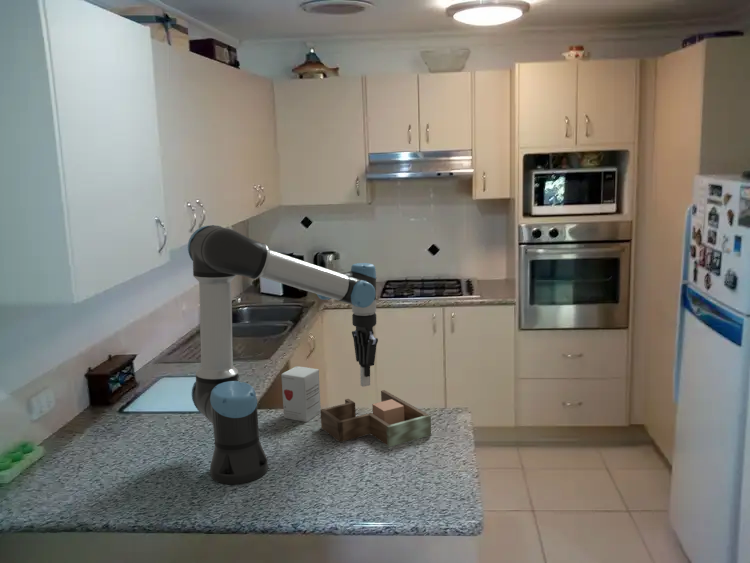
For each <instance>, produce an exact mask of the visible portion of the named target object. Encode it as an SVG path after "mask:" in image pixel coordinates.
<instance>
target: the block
mask: <svg viewBox="0 0 750 563" xmlns="http://www.w3.org/2000/svg"><path fill="white" fill-rule="evenodd" d="M372 414H374V415H375V416H377V417H378V418H380V419H382V420H383V421H385V422H386V423H388V424H389V425H392V424H395V423H399V422H403V421H404V406H403V405H401V404H400V403H398V402H396V401H394V400H392V399H391V400H387V401H383V402H381V401H379V402H376V403H372Z"/></svg>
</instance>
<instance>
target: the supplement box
mask: <svg viewBox="0 0 750 563" xmlns="http://www.w3.org/2000/svg"><path fill="white" fill-rule="evenodd" d="M280 376H281V385H282V386H281V387H282V388H281V389H282V406H283V418H284V419H288V420H293V421H294V420H295V421H297V422H298V421H299V422H304V423H308V422H309V421H311V420H312V419H314V418H315V417H316V416H318V415H319V414H321V411H320V410H321V409H322V408H321V386H320V369H318V368H313V367H306V366H297V365H295V366H294V367H293V368H290V369H289V370H287V371H284V372H283V373H281V375H280Z"/></svg>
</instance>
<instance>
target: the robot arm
mask: <svg viewBox="0 0 750 563" xmlns="http://www.w3.org/2000/svg"><path fill="white" fill-rule="evenodd" d="M187 253H188V255H189V258H190V259H191V261H192V274H193V275H192V276H193V278H194V279H196V280H197V282H198V284H199V285H198V287H199V288H198V291H199V293H198V294H199V325H200V326H199V330H200V335H199V336H200V367H199V368H198V369H197V370H196V372H195V381H194V383H193V385H192V387H191V398H192V399H191V400H192V402H193V405H194V406H195V408H196V409H197V411H198V412H199V413H201V414H202V415H203V416H204V417H205V418H206V419H207V420H208V421H209V422H211V424H212V426H213V437H214V438H213V439H214V450H213V454H212V457H211V463H210V466H209V469H210V471H209V472H210V477H211V479H213V481H216V482H217V483H220V484H225V485H237V484H238V485H239V484H245V483H250V482H253V481H255V480H257V479H260V478H261V477H263V476H264V475H265V474H266V473H267V472H268V470H269V463H268V462H269V461H268V457H267V455H266V453H265V451H264V448H263V446H262V444H261V441H260V429H259V416H258V398H257V394H256V391H255V388H254V387H253V386H252V385H251V384H249V383H247V382H245V381H242V382H241V381H239V369H238V368H236V367H235V366H234V362H233V359H234V358H233V306H232V304H233V302H232V300H233V299H232V298H233V297H232V295H233V294H232V282H233V280H234V279H235V278H236V277H237V276H239V277H240V276H241V277H244V278H245V277H246V278H250V279H252V280H257V279H259V278H262V279H266V280H269V281H273V282H277V283H279V284H283V285H286V286H289V287H291V288H292V287H293V288H295V289H299V290H303V291H306V292H309V293H313V294H316V296H317V297H318V299H319V300H329V301H330V300H336V301H338V302H340V303H341V302H342V303H345V304H349V305H351V312H352V314H351V315H352V316H351V317H352V318H351V320H352V323H351V324H352V326H354V327H355V330H352V331H351V335H352V338H353V346H354V354H355V361H356V362H358V365H359V367H360V368H359V370H360V373H359V375H360V378H359V379H360V386H361V387H363V388H364V387H368V386H371V367H372V366H374V365H375V363H376V362H375V359H376V353H377V352H376V351H377V344H378V342H379V338H378V337H375V336H374V334H375V332H374V327H375V326H377V313H376V312H377V272H376V266H375V265H374V264H373V263H369V262H357V263H353V264H352V265H351V267H350V271H346V272H345V271H344V272H338V271H335V270H333V269H332V270H331V269H329V268H327V267H323V266H320V265H316V264H313V263H311V262H308V261H305V260H302V259H299V258H296V257H293V256H290V255H287V254H284V253H281V252H278V251H275V250H273V249H269V247H268V245H267V244H265V243H263V242H260V241H257V240H256V239H252V238H251V237H249V236H247V235H244V234H242V233H240V232H239V231H237V230H235V229H232V228H227V227H222V226H220V225H214V224H212V225H204V226H203V225H202V226H201V227H199V228H197V229H196V230H195V231H193V233H192V234H191V235H190V238H189V240H188V242H187Z"/></svg>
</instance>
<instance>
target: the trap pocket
mask: <svg viewBox="0 0 750 563" xmlns="http://www.w3.org/2000/svg"><path fill="white" fill-rule="evenodd" d="M353 405H354V404H353ZM353 405H352V402H350V403H346V404H345V403H343V404H337V405H335V406H331V407H326V408H321V410H320V411H321V413H320V423H321V424H320V426H321V427H320V428H321V429H322V430H323V431H324V432H326V433H327V434H328V433H329V434H328V435H330V436H331V437H333V439H334V440H336V441H338V442H339V443H342V442H346V441H349V440H353V439H358V438H360V437H364V436H368V435H371V434H370V415H371V414H370V413H371V412H368V413H366V414H361V415H358V416H357V415H356V417H353V416H354V415H353V414H352V413H354V412H352V411H353V409H352V406H353ZM353 408H354V407H353ZM352 415H353V416H352Z"/></svg>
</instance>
